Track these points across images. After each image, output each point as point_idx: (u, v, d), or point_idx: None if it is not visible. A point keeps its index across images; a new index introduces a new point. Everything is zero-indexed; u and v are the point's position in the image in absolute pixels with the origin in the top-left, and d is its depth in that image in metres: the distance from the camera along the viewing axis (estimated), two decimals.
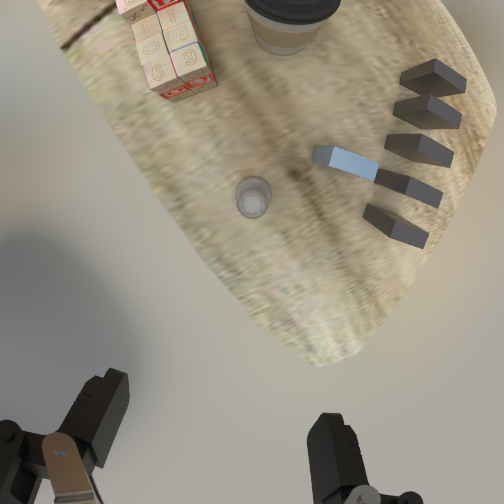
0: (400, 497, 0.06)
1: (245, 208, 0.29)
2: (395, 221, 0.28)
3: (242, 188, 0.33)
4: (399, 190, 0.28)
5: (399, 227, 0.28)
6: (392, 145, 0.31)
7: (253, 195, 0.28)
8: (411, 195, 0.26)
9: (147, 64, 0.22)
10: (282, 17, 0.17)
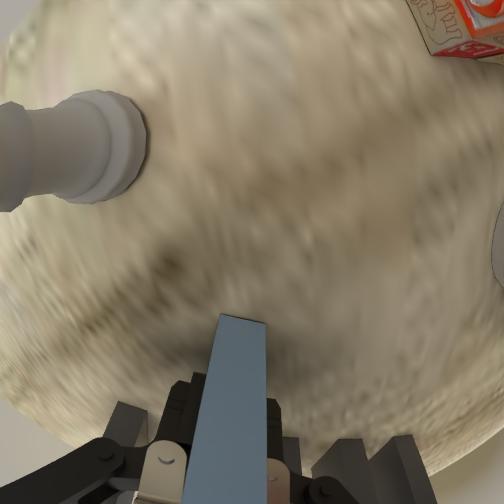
0: (314, 480, 0.07)
1: None
2: None
3: (87, 105, 0.07)
4: None
5: None
6: None
7: None
8: None
9: None
10: None
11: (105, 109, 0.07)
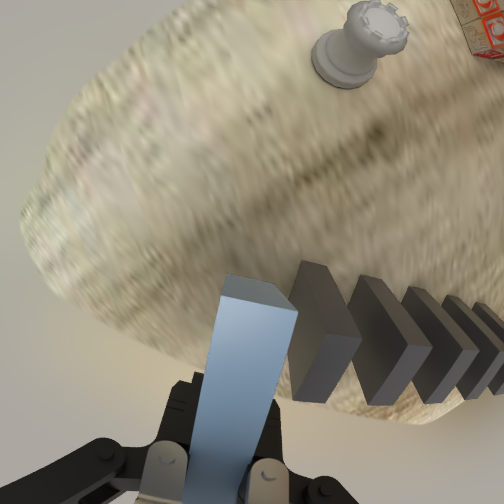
0: (314, 480, 0.07)
1: (374, 9, 0.08)
2: (359, 337, 0.13)
3: None
4: (400, 329, 0.14)
5: (346, 348, 0.13)
6: (425, 300, 0.19)
7: (400, 29, 0.09)
8: (402, 356, 0.13)
9: None
10: None
11: None
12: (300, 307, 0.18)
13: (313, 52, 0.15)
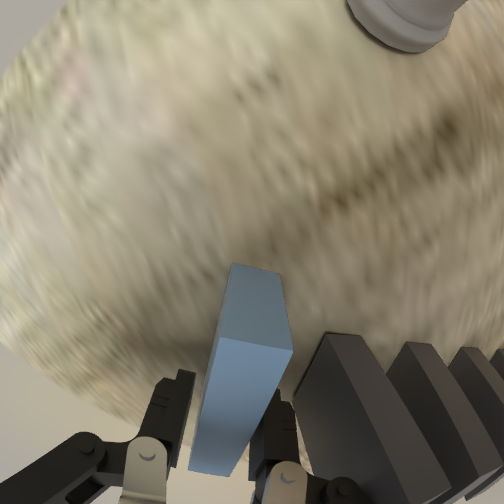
0: (331, 481, 0.07)
1: None
2: (447, 486, 0.05)
3: None
4: (469, 450, 0.06)
5: (427, 502, 0.05)
6: (482, 369, 0.11)
7: None
8: (466, 487, 0.05)
9: None
10: None
11: None
12: (335, 420, 0.10)
13: None
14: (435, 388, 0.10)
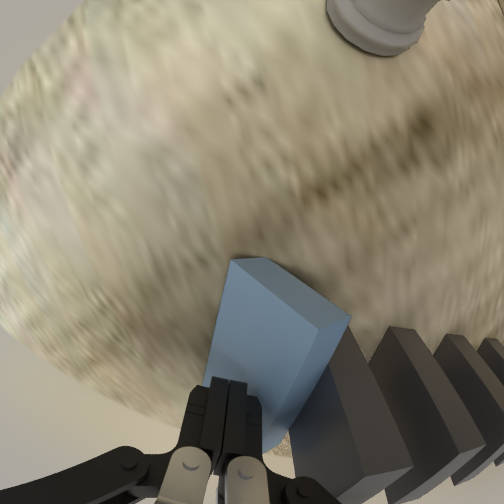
0: (292, 480, 0.06)
1: None
2: (409, 464, 0.06)
3: None
4: (449, 427, 0.07)
5: (388, 479, 0.06)
6: (467, 355, 0.13)
7: None
8: (448, 464, 0.06)
9: None
10: None
11: None
12: None
13: (328, 1, 0.08)
14: (416, 368, 0.11)
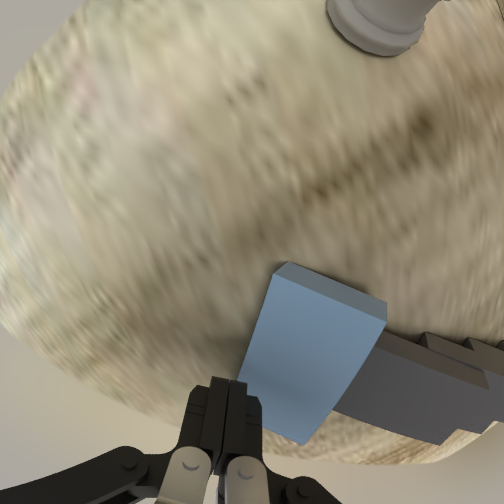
0: (292, 480, 0.06)
1: None
2: (481, 372, 0.11)
3: None
4: None
5: None
6: (495, 356, 0.13)
7: None
8: None
9: None
10: None
11: None
12: (402, 390, 0.12)
13: (329, 2, 0.08)
14: (474, 365, 0.12)
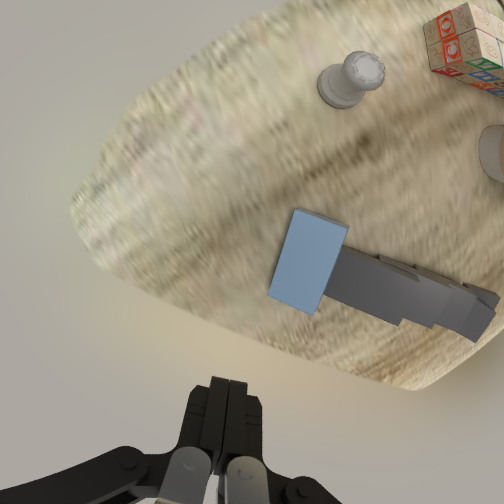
0: (292, 480, 0.06)
1: (362, 59, 0.15)
2: (416, 277, 0.25)
3: None
4: (441, 283, 0.25)
5: None
6: (434, 275, 0.27)
7: (379, 72, 0.16)
8: (448, 295, 0.25)
9: (489, 17, 0.11)
10: None
11: None
12: (365, 279, 0.26)
13: (318, 81, 0.22)
14: (411, 271, 0.26)
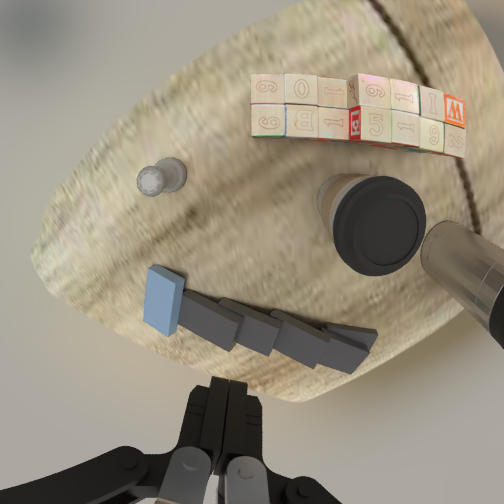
0: (292, 480, 0.06)
1: (145, 175, 0.27)
2: (243, 317, 0.37)
3: (171, 165, 0.31)
4: (269, 324, 0.37)
5: (241, 323, 0.37)
6: (286, 320, 0.38)
7: (157, 182, 0.27)
8: (277, 333, 0.37)
9: (282, 79, 0.22)
10: (339, 217, 0.22)
11: (175, 166, 0.32)
12: (200, 317, 0.38)
13: None
14: (243, 313, 0.38)
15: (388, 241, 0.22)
